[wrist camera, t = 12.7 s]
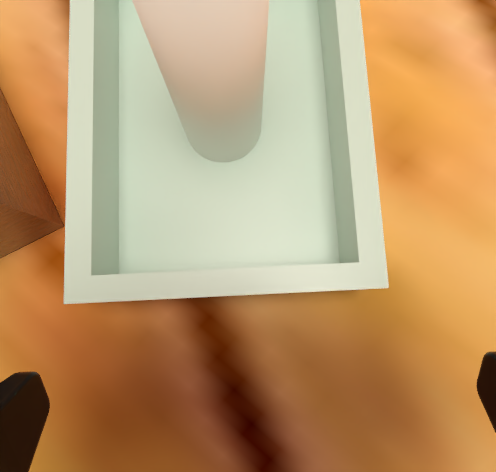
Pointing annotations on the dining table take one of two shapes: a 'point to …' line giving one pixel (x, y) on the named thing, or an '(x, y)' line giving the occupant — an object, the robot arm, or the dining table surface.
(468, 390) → the dining table surface
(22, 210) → the block
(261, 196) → the tray
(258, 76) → the beige capped cylinder
